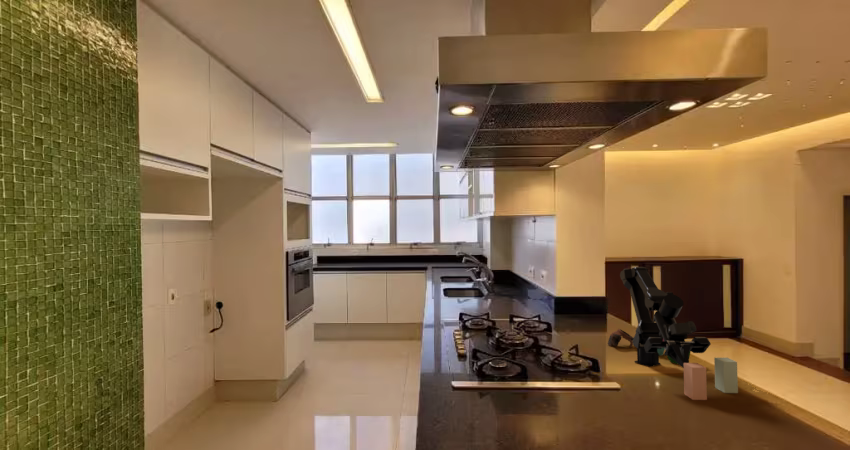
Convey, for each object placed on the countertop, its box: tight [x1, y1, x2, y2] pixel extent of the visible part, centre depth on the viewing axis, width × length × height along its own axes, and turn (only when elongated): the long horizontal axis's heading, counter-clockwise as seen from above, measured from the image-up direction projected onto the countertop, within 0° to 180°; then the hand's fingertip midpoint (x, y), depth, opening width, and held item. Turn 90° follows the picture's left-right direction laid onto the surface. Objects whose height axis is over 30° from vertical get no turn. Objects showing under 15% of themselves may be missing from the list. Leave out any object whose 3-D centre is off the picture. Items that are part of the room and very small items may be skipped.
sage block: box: [713, 357, 739, 394], centre depth 132 cm, size 4×4×10 cm
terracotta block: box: [683, 362, 708, 401], centre depth 127 cm, size 4×4×10 cm
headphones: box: [607, 328, 634, 349], centre depth 183 cm, size 12×10×8 cm
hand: (687, 369), depth 131 cm, fingers closed
